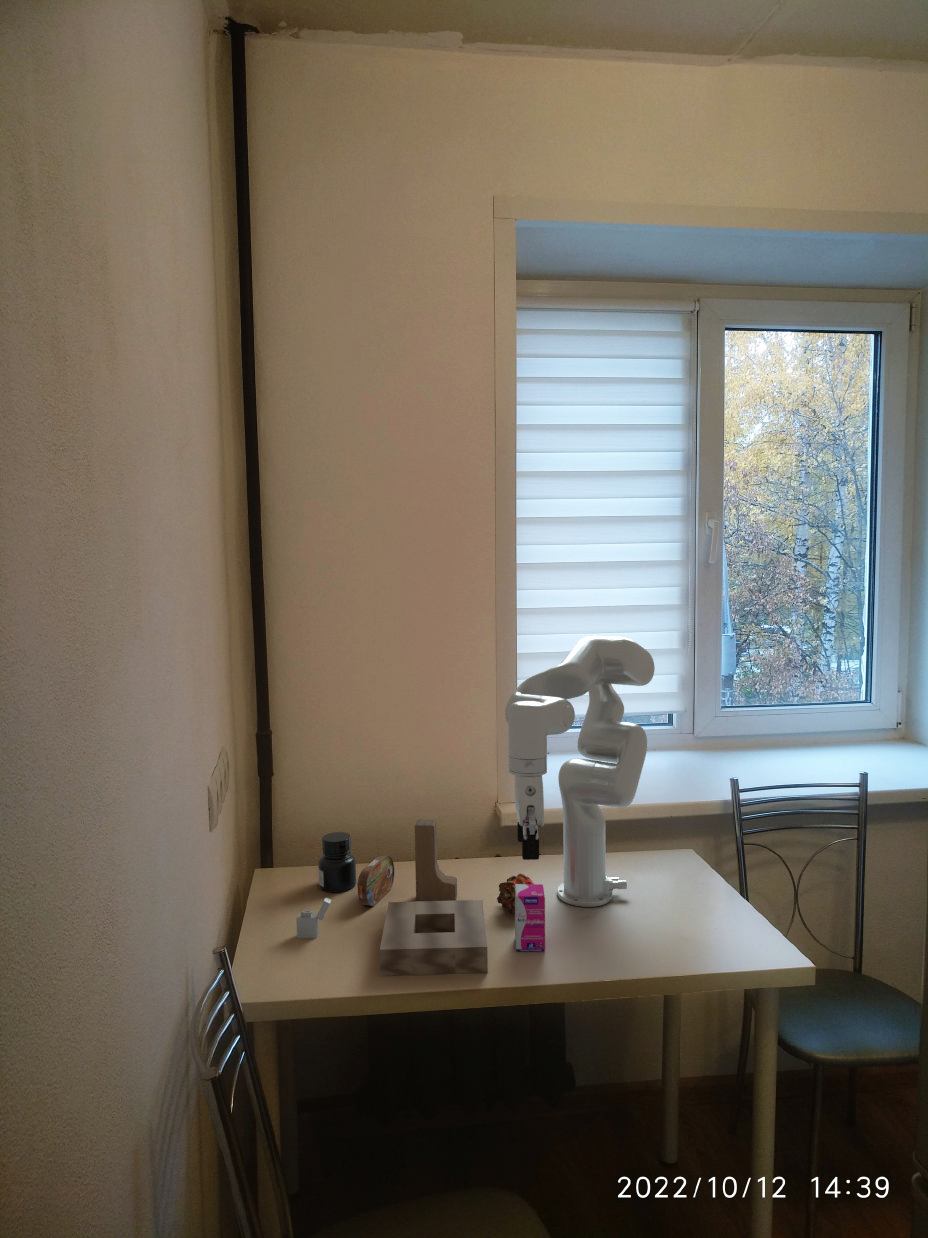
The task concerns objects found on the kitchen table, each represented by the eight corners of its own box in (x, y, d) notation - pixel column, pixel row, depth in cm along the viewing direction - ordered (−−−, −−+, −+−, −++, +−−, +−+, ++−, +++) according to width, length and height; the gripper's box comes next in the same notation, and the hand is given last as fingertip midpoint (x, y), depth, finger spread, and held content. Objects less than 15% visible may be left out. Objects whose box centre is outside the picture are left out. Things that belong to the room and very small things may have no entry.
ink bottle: (329, 876, 185) (328, 828, 184) (362, 879, 182) (361, 831, 182) (311, 892, 175) (310, 842, 175) (346, 896, 173) (344, 845, 172)
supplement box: (516, 952, 146) (515, 895, 145) (515, 938, 152) (514, 883, 151) (545, 952, 146) (545, 895, 145) (543, 938, 152) (542, 883, 151)
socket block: (482, 922, 159) (482, 900, 158) (487, 973, 139) (487, 947, 138) (388, 925, 158) (388, 902, 158) (380, 976, 138) (379, 949, 138)
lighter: (296, 938, 153) (295, 900, 153) (299, 934, 155) (298, 896, 154) (330, 938, 153) (329, 900, 152) (332, 934, 154) (331, 897, 154)
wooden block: (457, 895, 172) (456, 819, 171) (455, 904, 168) (454, 826, 167) (418, 894, 173) (417, 819, 172) (415, 903, 168) (414, 825, 167)
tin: (368, 912, 164) (367, 875, 164) (355, 911, 165) (354, 873, 165) (396, 885, 179) (395, 851, 178) (384, 883, 180) (383, 849, 179)
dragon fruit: (508, 930, 158) (519, 913, 170) (540, 909, 157) (549, 894, 168) (486, 895, 160) (498, 881, 172) (518, 874, 159) (527, 861, 170)
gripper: (552, 775, 138) (553, 866, 139) (541, 754, 155) (541, 835, 156) (512, 776, 138) (512, 867, 138) (505, 754, 155) (505, 835, 156)
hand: (527, 850), depth 147 cm, fingers open, 9 cm apart
